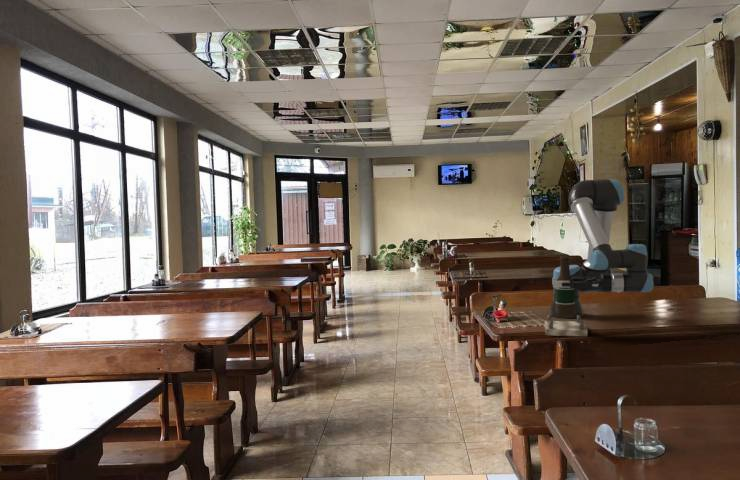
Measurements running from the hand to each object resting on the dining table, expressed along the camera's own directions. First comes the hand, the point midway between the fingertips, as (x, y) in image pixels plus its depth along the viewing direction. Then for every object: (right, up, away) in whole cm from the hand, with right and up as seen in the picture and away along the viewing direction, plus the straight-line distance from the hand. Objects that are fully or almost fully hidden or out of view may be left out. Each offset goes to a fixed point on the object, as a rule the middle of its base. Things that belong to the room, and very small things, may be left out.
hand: (552, 282), depth 244 cm
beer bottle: (+5, -13, 0) cm, 14 cm away
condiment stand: (+5, -21, +1) cm, 21 cm away
